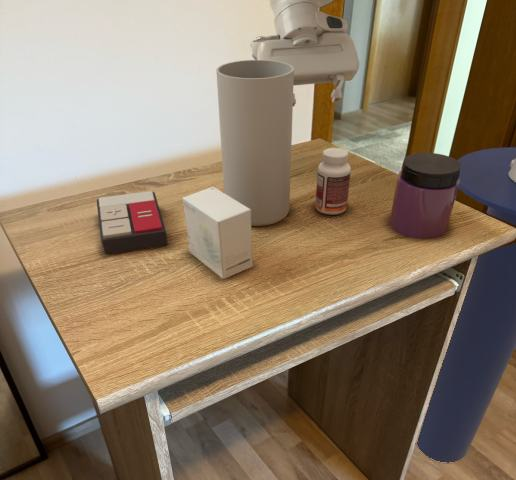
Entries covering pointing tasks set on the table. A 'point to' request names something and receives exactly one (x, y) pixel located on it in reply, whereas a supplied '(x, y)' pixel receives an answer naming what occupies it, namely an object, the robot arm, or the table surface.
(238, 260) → the cosmetics box
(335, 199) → the pill bottle
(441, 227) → the jar
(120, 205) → the calculator
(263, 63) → the cylinder vase
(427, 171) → the jar lid
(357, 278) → the table surface
